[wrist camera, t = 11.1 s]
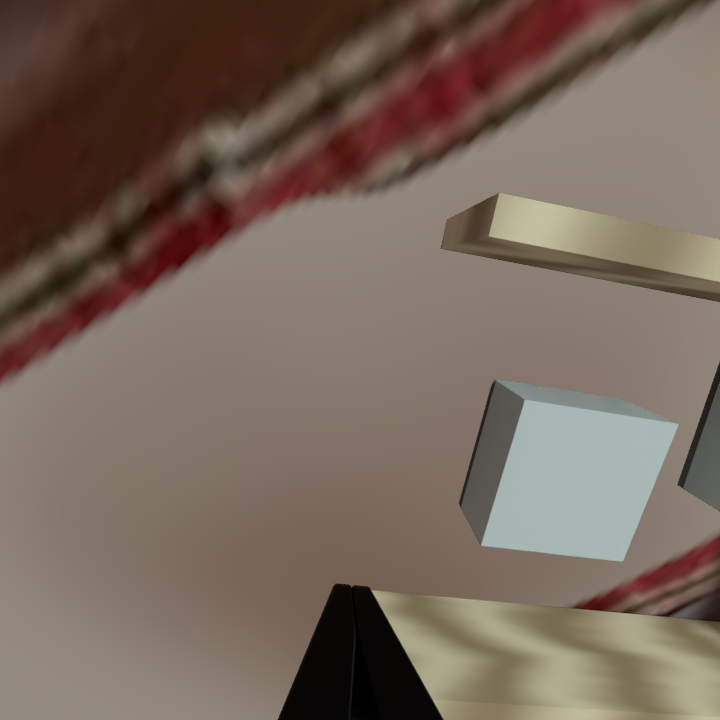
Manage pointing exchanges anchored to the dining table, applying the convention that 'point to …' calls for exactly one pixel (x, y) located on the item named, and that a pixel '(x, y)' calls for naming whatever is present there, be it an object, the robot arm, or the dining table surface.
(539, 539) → the tile
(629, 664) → the box
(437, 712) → the robot arm
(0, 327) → the dining table surface
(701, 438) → the tile
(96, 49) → the dining table surface
